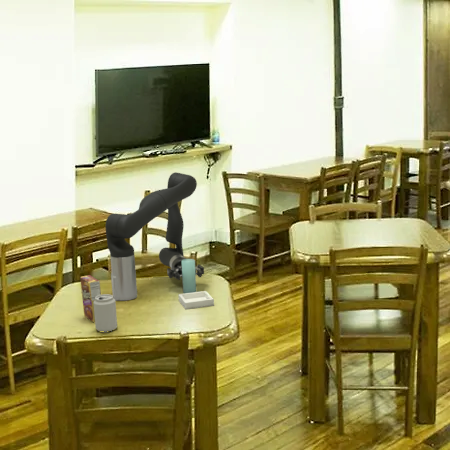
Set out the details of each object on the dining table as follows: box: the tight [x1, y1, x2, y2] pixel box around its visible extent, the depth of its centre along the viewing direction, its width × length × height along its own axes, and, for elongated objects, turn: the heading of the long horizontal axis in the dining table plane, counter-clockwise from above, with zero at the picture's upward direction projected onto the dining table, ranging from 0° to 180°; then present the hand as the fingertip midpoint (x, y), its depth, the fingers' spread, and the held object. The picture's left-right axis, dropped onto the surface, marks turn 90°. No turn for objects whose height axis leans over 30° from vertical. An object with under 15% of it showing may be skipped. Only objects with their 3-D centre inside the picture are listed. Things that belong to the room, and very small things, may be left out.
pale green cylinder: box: [181, 258, 197, 294], centre depth 303 cm, size 5×5×13 cm
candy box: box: [79, 274, 102, 323], centre depth 277 cm, size 9×4×15 cm, turn 33°
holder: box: [178, 290, 215, 310], centre depth 291 cm, size 11×11×2 cm
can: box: [93, 293, 118, 333], centre depth 266 cm, size 8×8×12 cm
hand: (189, 276), depth 301 cm, fingers open, 8 cm apart
